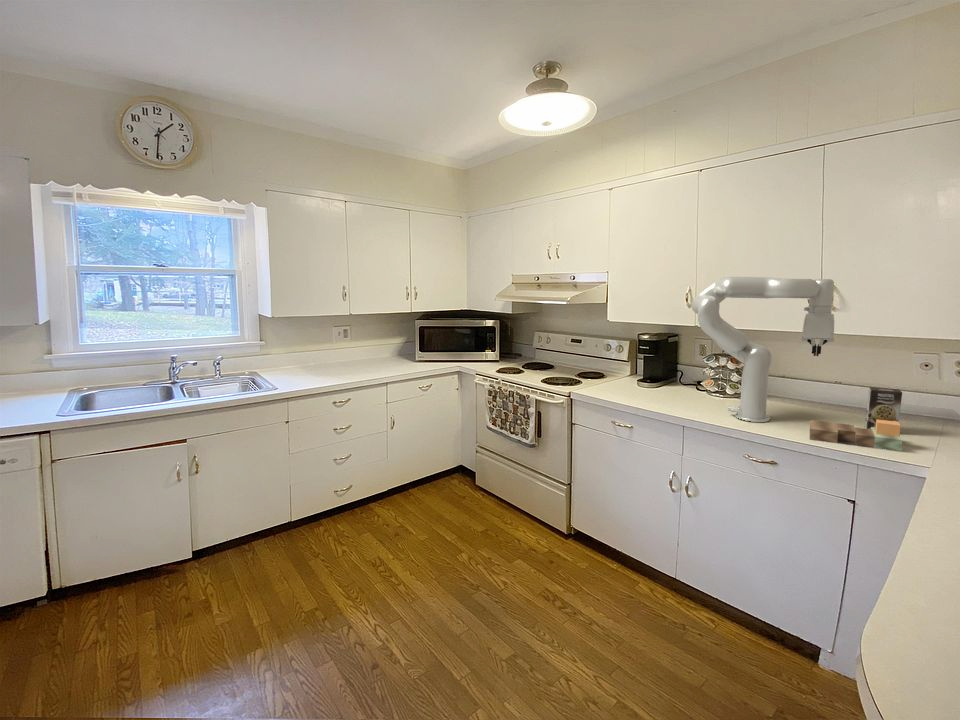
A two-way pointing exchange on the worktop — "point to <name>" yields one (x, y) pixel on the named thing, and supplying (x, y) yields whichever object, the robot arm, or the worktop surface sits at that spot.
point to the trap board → (852, 436)
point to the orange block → (887, 428)
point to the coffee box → (882, 405)
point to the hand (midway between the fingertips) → (816, 355)
